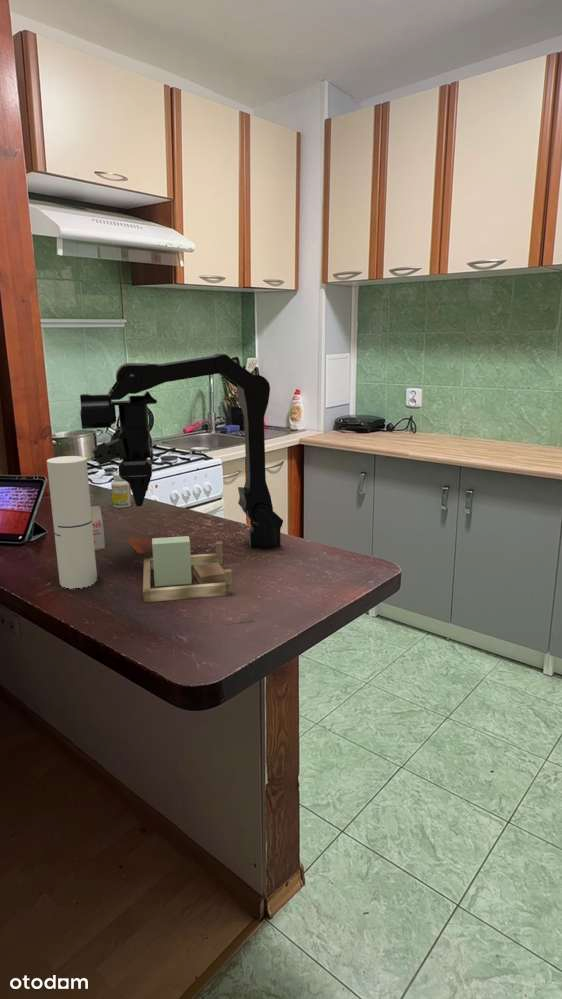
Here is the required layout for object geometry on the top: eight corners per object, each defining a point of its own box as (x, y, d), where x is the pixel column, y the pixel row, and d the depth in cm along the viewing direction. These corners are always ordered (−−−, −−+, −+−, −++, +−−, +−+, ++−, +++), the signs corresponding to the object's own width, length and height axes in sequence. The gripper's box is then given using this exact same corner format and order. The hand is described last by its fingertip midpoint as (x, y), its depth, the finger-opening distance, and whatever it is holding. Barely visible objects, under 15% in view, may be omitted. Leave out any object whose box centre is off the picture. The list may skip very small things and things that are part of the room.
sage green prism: (191, 583, 120) (188, 536, 118) (192, 590, 117) (189, 541, 114) (155, 586, 119) (152, 538, 116) (155, 593, 115) (152, 544, 113)
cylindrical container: (84, 590, 117) (72, 464, 110) (52, 586, 119) (38, 462, 112) (104, 577, 124) (93, 456, 117) (73, 573, 125) (61, 455, 119)
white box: (72, 549, 140) (67, 507, 138) (101, 544, 143) (98, 504, 141) (74, 554, 137) (70, 511, 134) (105, 549, 140) (101, 507, 137)
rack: (222, 568, 128) (221, 541, 126) (232, 601, 112) (231, 571, 110) (145, 574, 125) (143, 547, 123) (144, 609, 109) (141, 578, 107)
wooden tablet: (198, 569, 129) (198, 562, 129) (152, 577, 125) (151, 569, 125) (164, 534, 152) (164, 528, 152) (124, 539, 148) (124, 533, 148)
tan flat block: (218, 571, 122) (217, 562, 122) (226, 582, 117) (226, 573, 116) (194, 575, 121) (193, 566, 120) (201, 586, 115) (200, 577, 115)
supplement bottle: (123, 509, 173) (120, 476, 170) (109, 507, 175) (106, 474, 173) (135, 504, 177) (133, 472, 175) (121, 502, 180) (119, 471, 177)
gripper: (98, 421, 130) (104, 491, 135) (88, 435, 113) (95, 515, 117) (150, 420, 132) (155, 489, 136) (148, 432, 115) (154, 511, 119)
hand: (140, 500), depth 127 cm, fingers open, 9 cm apart
